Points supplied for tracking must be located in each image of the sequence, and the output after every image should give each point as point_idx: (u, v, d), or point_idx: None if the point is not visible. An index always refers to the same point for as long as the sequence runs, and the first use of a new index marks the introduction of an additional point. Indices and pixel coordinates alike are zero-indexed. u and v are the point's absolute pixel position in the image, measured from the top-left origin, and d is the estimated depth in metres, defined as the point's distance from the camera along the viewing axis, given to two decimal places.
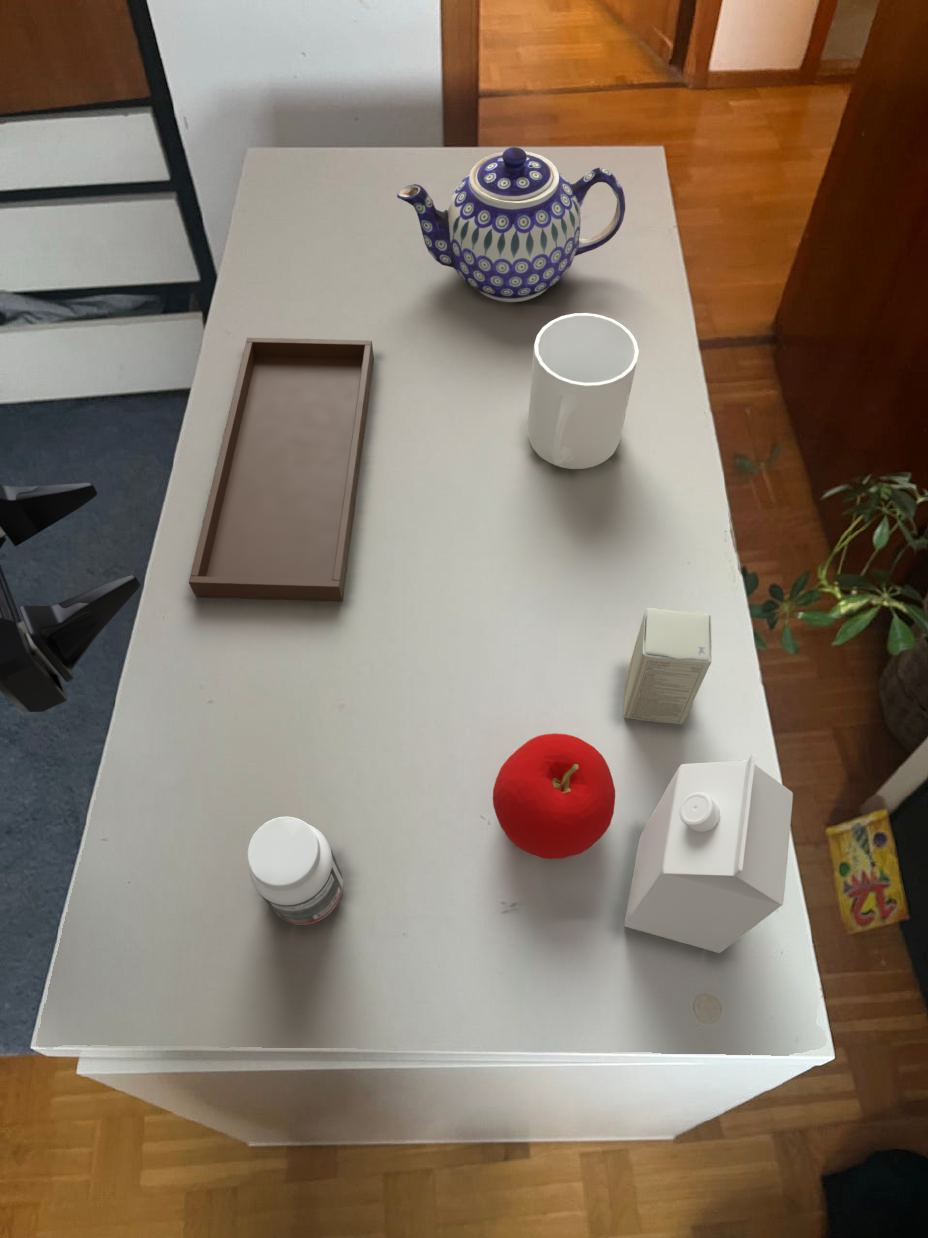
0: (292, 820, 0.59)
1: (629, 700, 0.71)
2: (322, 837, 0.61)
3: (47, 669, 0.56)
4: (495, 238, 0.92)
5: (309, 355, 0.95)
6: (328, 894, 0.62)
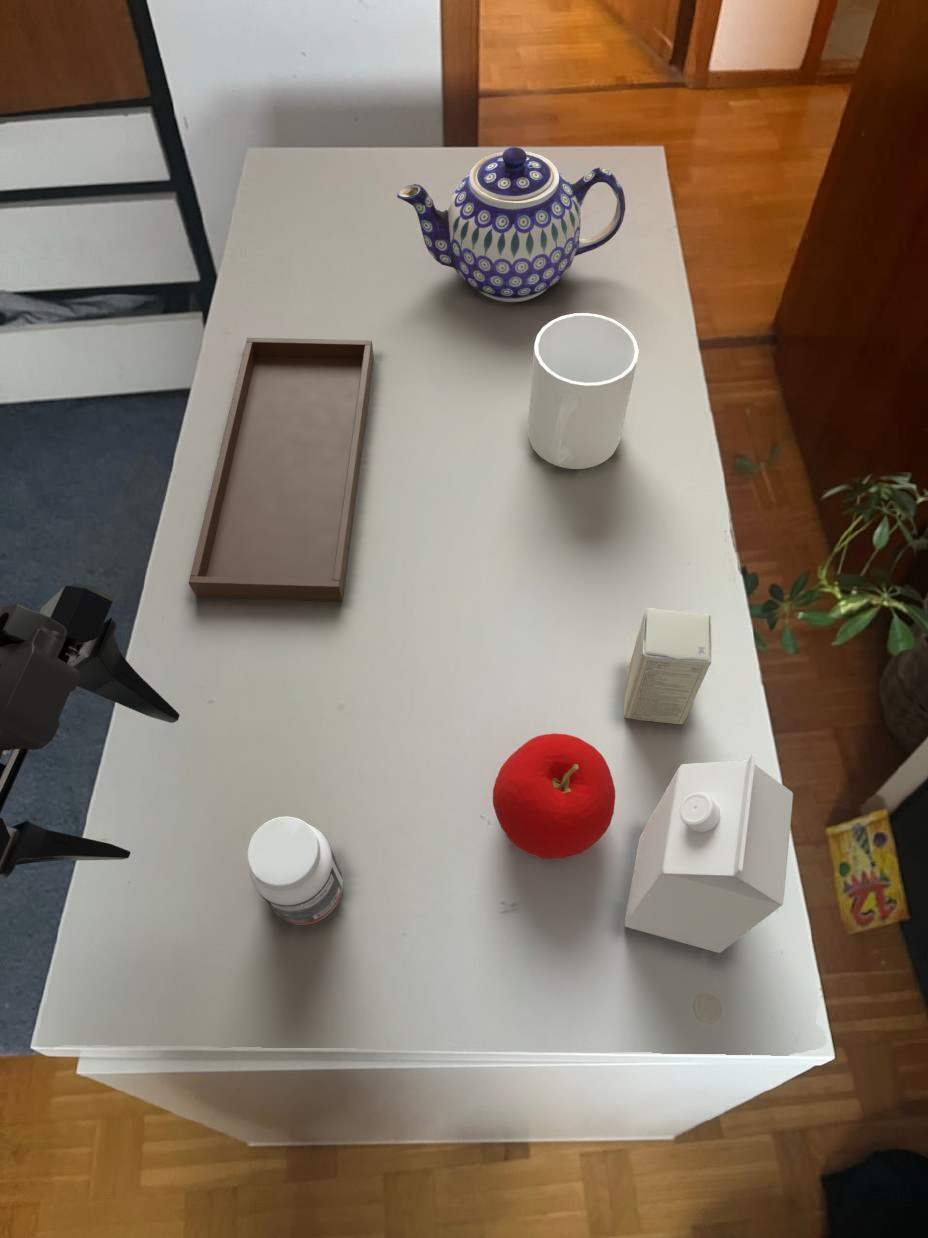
0: (292, 820, 0.59)
1: (629, 700, 0.71)
2: (322, 837, 0.61)
3: None
4: (495, 238, 0.92)
5: (309, 355, 0.95)
6: (328, 894, 0.62)
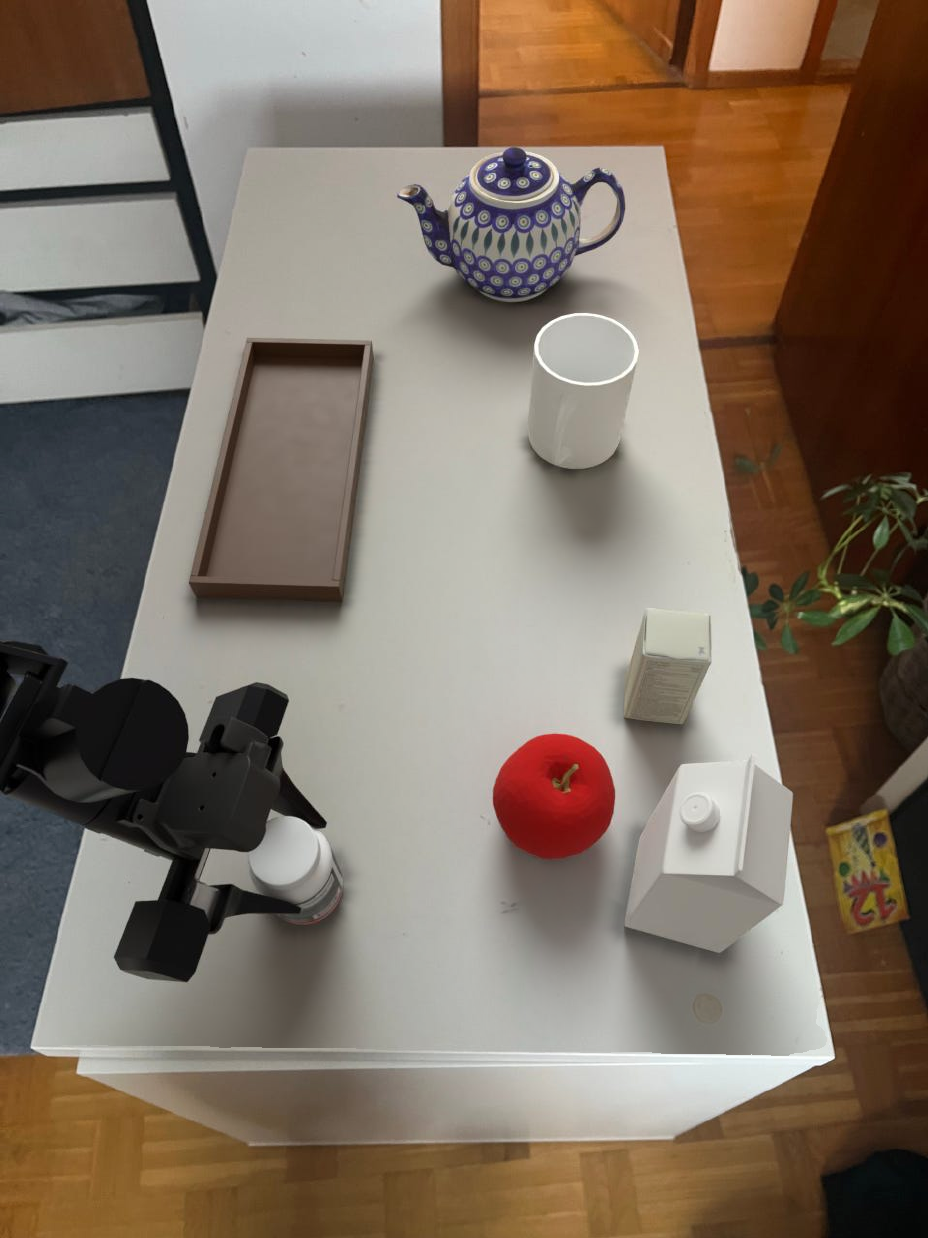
0: (292, 820, 0.59)
1: (629, 700, 0.71)
2: (322, 837, 0.61)
3: None
4: (495, 238, 0.92)
5: (309, 355, 0.95)
6: (328, 894, 0.62)
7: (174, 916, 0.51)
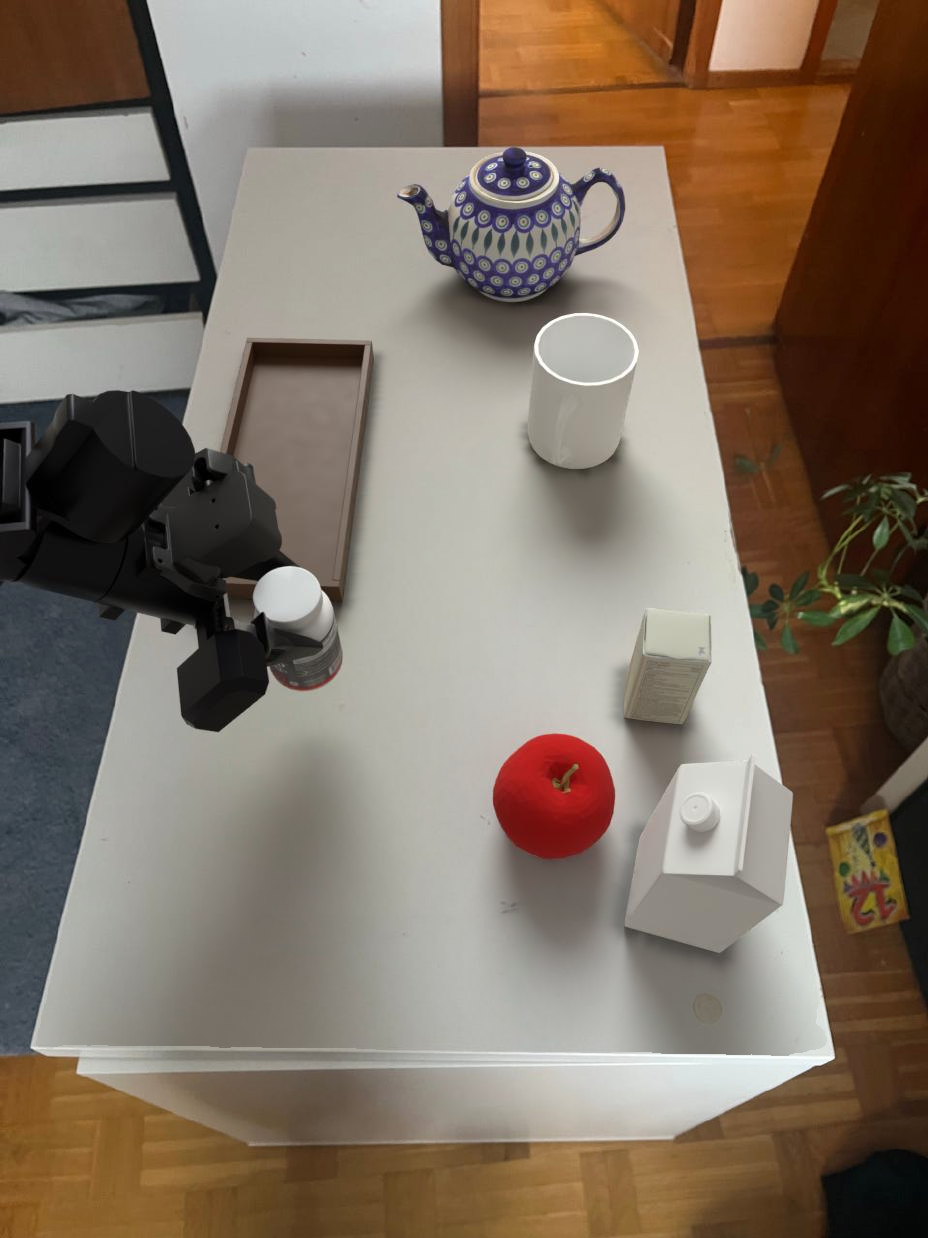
0: (283, 569, 0.61)
1: (629, 700, 0.71)
2: None
3: None
4: (495, 238, 0.92)
5: (309, 355, 0.95)
6: (336, 638, 0.65)
7: (228, 642, 0.52)
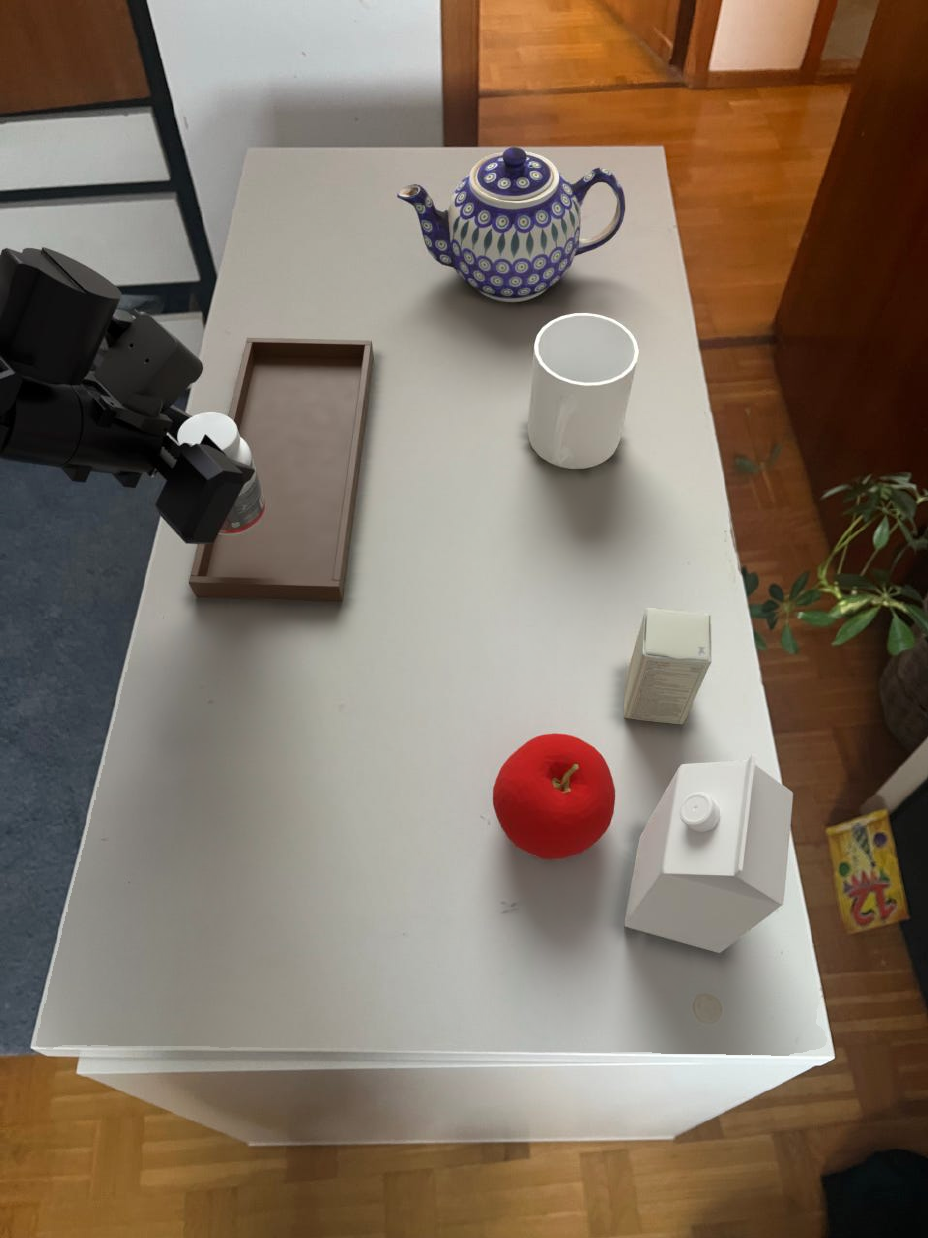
0: (192, 418, 0.69)
1: (629, 700, 0.71)
2: None
3: None
4: (495, 238, 0.92)
5: (309, 355, 0.95)
6: None
7: (196, 453, 0.60)
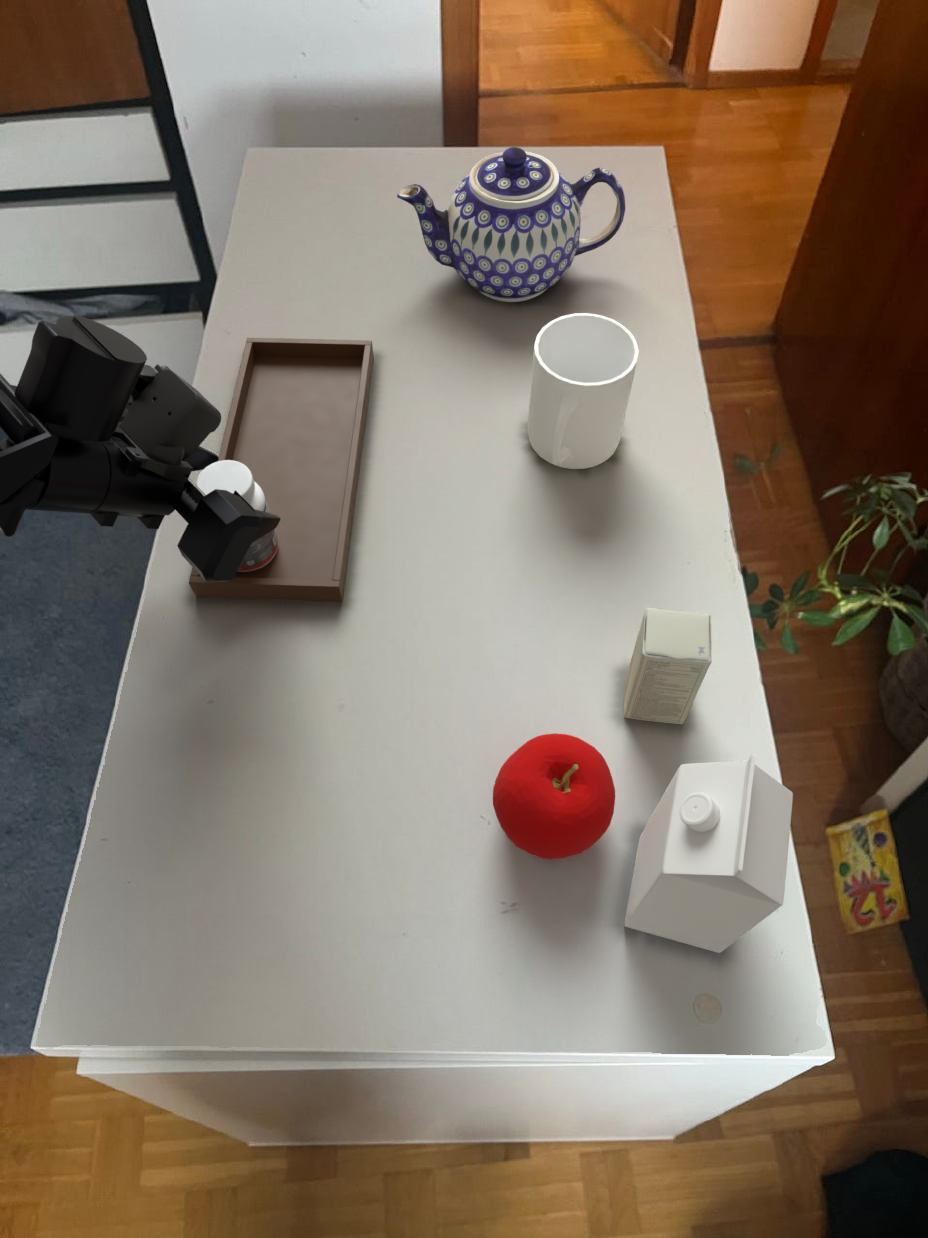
0: (210, 466, 0.74)
1: (629, 700, 0.71)
2: None
3: None
4: (495, 238, 0.92)
5: (309, 355, 0.95)
6: None
7: (215, 499, 0.65)
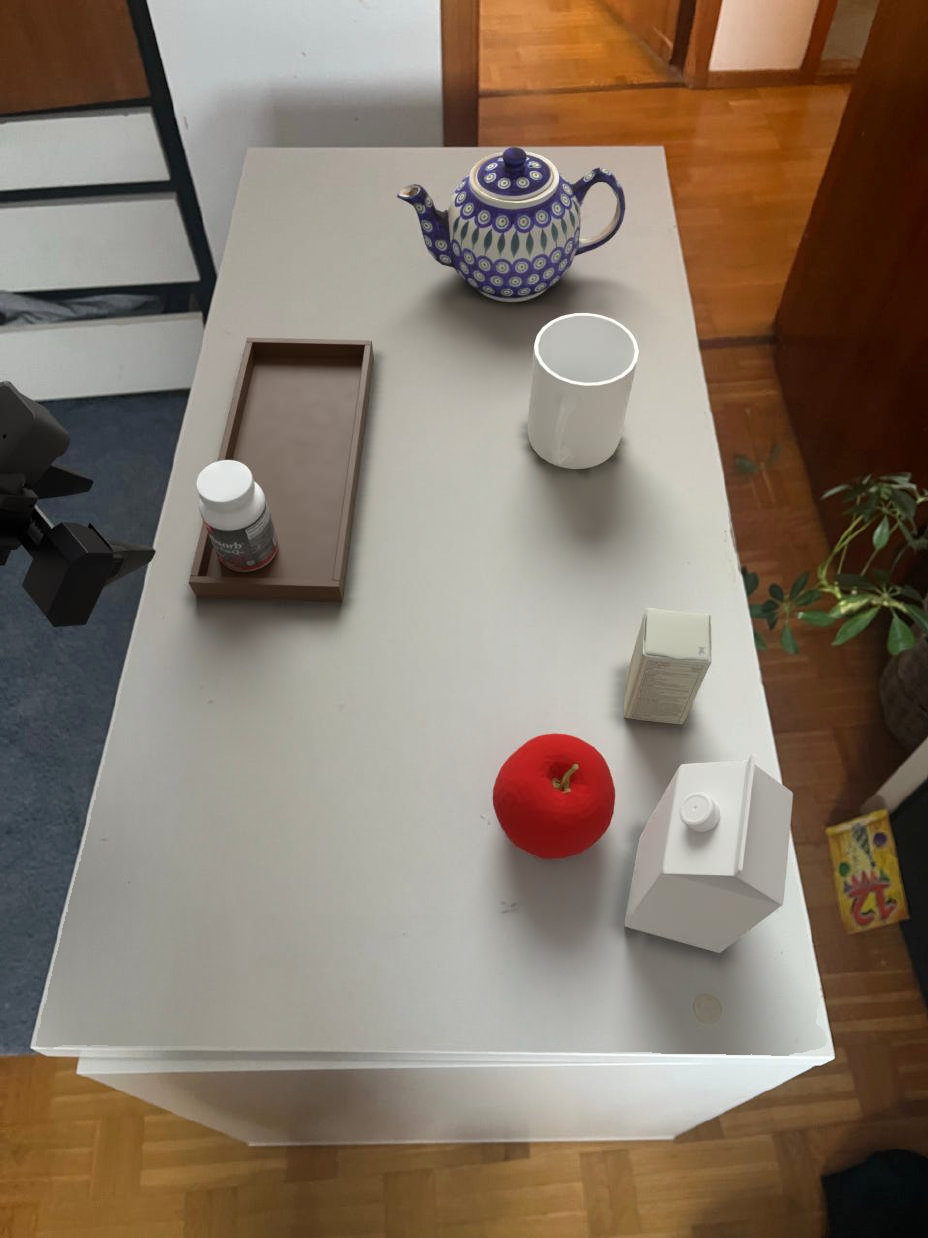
0: (210, 466, 0.74)
1: (629, 700, 0.71)
2: None
3: None
4: (495, 238, 0.92)
5: (309, 355, 0.95)
6: None
7: (60, 533, 0.57)
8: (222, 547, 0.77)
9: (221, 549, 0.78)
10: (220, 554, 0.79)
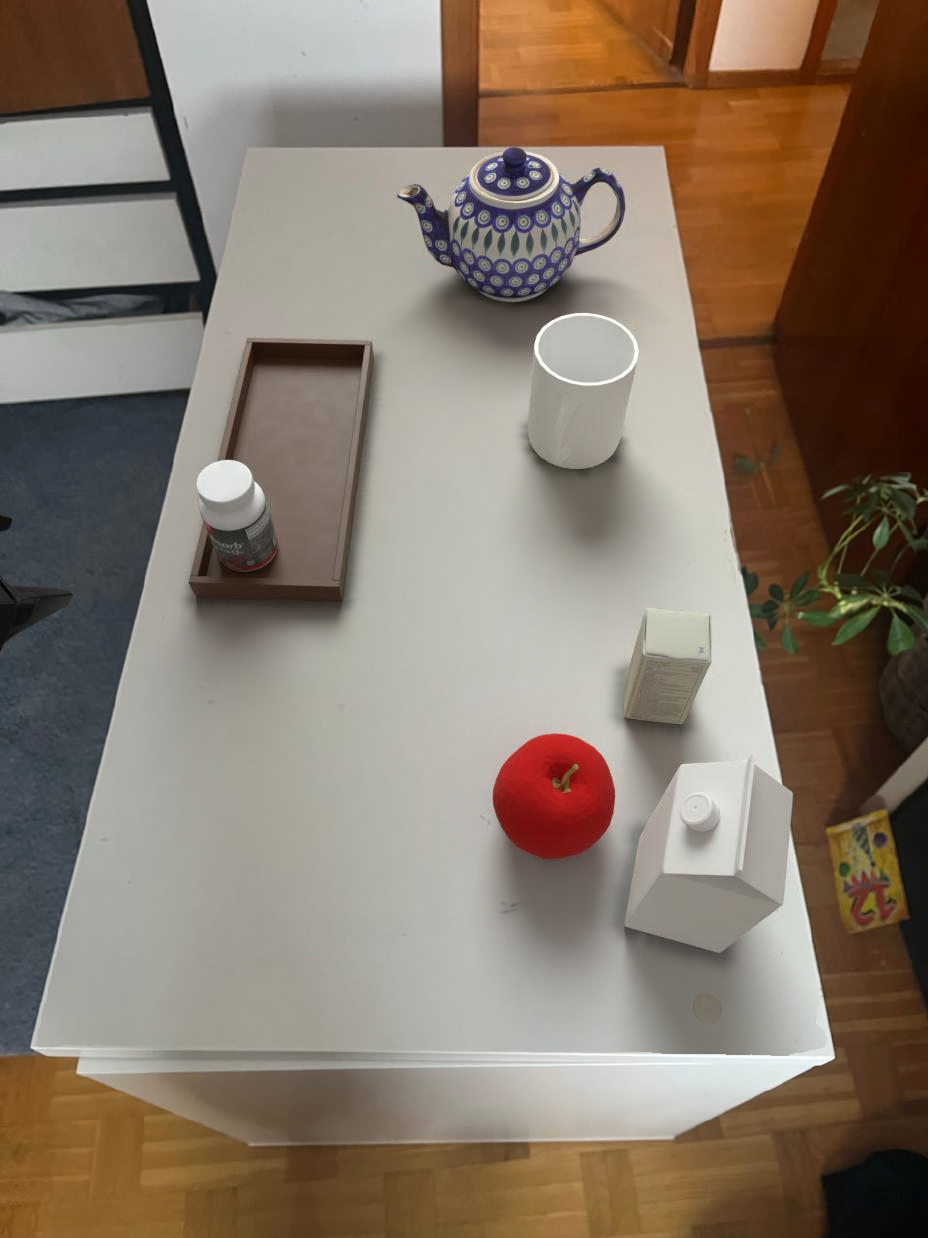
0: (210, 466, 0.74)
1: (629, 700, 0.71)
2: None
3: None
4: (495, 238, 0.92)
5: (309, 355, 0.95)
6: None
7: None
8: (222, 547, 0.77)
9: (221, 549, 0.78)
10: (220, 554, 0.79)
